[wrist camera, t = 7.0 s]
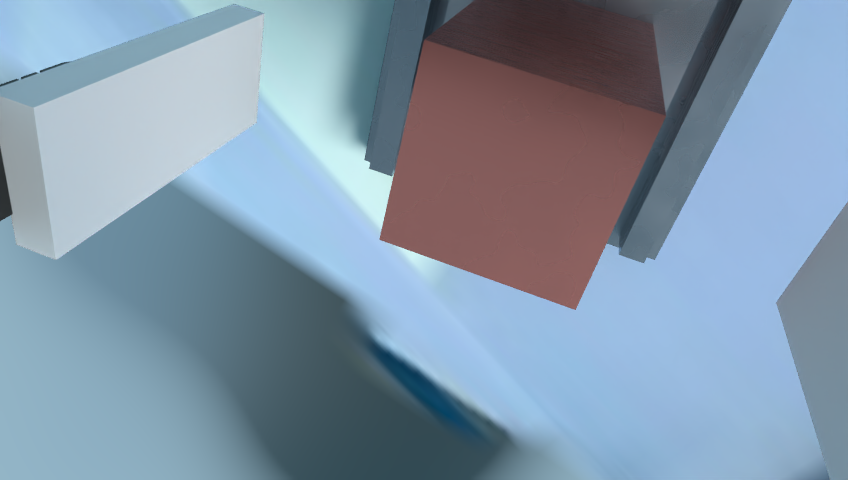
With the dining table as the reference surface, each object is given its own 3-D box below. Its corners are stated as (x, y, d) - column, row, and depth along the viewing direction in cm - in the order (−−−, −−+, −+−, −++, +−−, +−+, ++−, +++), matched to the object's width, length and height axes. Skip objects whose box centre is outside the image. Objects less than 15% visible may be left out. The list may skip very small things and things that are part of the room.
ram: (491, -128, 21) (379, -131, 11) (734, -61, 20) (823, -5, 10) (434, 104, 25) (320, 236, 16) (629, 168, 24) (628, 347, 15)
